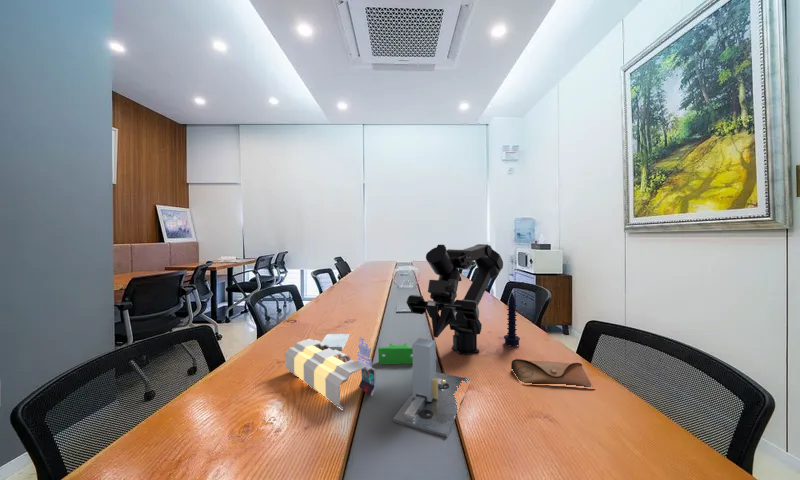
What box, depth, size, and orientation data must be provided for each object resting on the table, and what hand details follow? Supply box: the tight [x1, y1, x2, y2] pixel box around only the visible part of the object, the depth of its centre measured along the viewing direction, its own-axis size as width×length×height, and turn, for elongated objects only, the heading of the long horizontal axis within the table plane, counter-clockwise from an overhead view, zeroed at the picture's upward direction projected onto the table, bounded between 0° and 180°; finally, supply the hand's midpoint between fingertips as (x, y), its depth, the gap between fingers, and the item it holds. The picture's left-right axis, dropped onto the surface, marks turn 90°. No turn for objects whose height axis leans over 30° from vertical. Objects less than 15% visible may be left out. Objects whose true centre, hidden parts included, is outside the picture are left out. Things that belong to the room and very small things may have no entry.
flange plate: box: [392, 371, 471, 438], centre depth 66 cm, size 22×11×2 cm, turn 155°
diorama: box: [285, 336, 377, 409], centre depth 73 cm, size 25×10×13 cm, turn 45°
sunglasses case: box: [510, 358, 592, 387], centre depth 75 cm, size 18×7×7 cm, turn 83°
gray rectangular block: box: [411, 337, 438, 402], centre depth 66 cm, size 4×5×12 cm
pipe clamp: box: [377, 343, 413, 365], centre depth 86 cm, size 11×4×5 cm, turn 89°
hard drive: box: [320, 333, 350, 351], centre depth 100 cm, size 2×8×12 cm
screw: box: [503, 291, 521, 347], centre depth 97 cm, size 18×5×5 cm
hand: (435, 336), depth 73 cm, fingers closed
